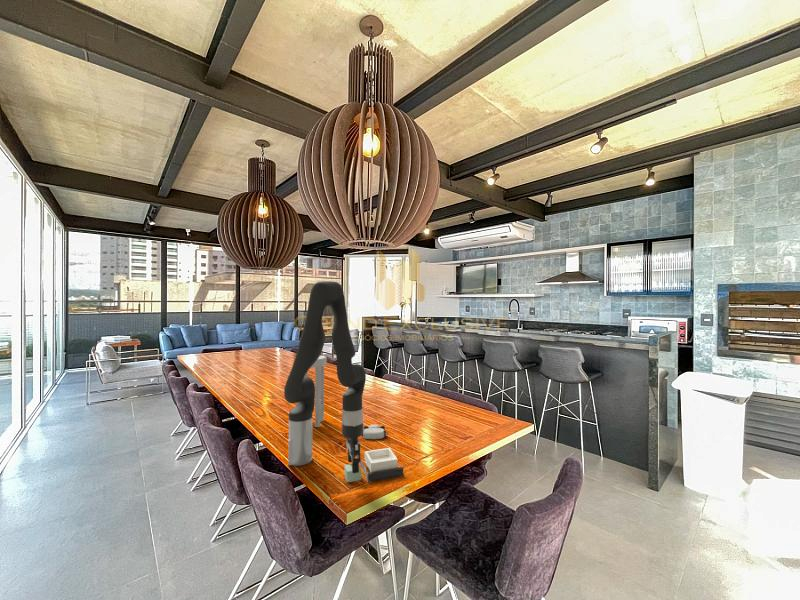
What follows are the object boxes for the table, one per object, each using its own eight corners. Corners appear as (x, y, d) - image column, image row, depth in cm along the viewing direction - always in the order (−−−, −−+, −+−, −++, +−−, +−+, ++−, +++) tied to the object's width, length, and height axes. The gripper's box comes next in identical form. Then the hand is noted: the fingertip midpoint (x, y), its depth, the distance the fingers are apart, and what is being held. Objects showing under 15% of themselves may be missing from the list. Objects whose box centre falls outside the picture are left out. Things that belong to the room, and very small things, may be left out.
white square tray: (371, 478, 118) (371, 463, 118) (364, 465, 128) (364, 451, 128) (397, 474, 122) (397, 459, 122) (389, 461, 131) (389, 447, 131)
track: (368, 485, 116) (368, 474, 116) (355, 458, 137) (355, 448, 137) (403, 479, 120) (403, 468, 120) (385, 453, 141) (385, 443, 141)
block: (347, 486, 116) (347, 471, 116) (344, 478, 121) (344, 465, 121) (361, 483, 118) (361, 469, 118) (358, 476, 123) (358, 462, 123)
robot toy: (362, 432, 166) (359, 442, 151) (362, 423, 167) (359, 432, 152) (386, 432, 167) (386, 442, 152) (386, 422, 167) (386, 432, 152)
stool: (291, 429, 168) (292, 359, 168) (300, 418, 183) (300, 355, 183) (322, 429, 168) (323, 359, 168) (328, 418, 184) (328, 354, 184)
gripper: (339, 416, 125) (339, 460, 124) (345, 429, 111) (346, 478, 111) (359, 414, 127) (359, 456, 127) (367, 426, 114) (368, 474, 113)
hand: (353, 466), depth 119 cm, fingers open, 8 cm apart
